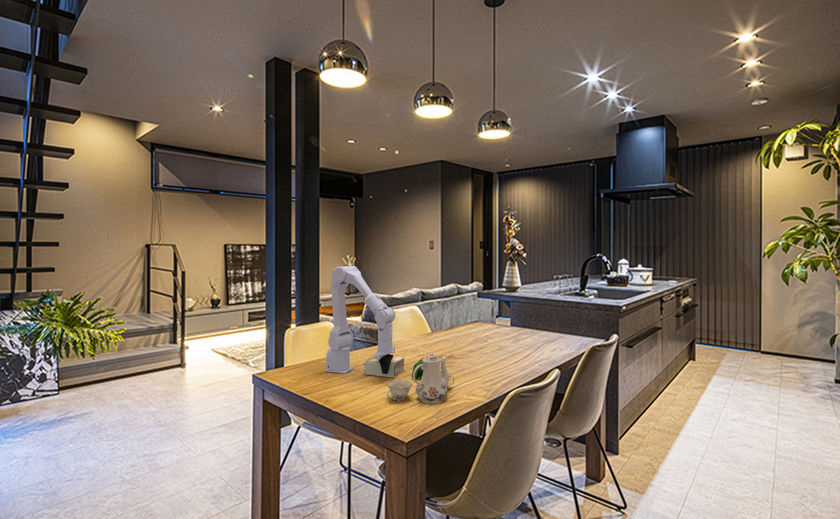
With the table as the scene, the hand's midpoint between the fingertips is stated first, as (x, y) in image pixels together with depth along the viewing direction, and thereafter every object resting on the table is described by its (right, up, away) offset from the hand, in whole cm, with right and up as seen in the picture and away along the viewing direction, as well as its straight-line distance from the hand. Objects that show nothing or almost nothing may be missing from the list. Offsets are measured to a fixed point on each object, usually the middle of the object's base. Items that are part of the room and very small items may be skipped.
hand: (385, 373), depth 162 cm
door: (-3, -2, +3) cm, 4 cm away
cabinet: (-1, -2, +8) cm, 8 cm away
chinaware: (+16, -3, -20) cm, 26 cm away
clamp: (+15, -2, +3) cm, 16 cm away
